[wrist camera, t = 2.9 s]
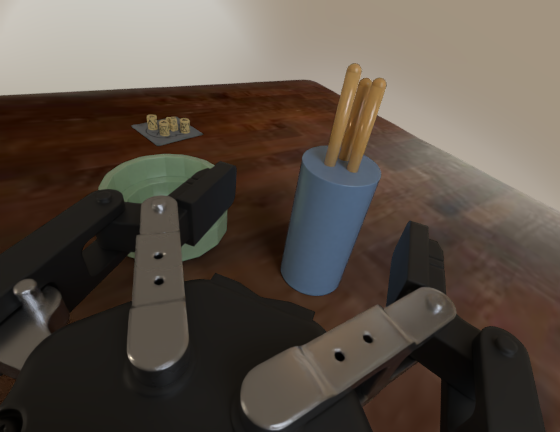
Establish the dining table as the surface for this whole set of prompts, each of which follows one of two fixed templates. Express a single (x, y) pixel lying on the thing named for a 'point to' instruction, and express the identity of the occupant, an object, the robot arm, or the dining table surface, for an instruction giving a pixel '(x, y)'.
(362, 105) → the breadstick jar
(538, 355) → the dining table surface
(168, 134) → the carved rune cylinders
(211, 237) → the bowl
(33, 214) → the dining table surface
